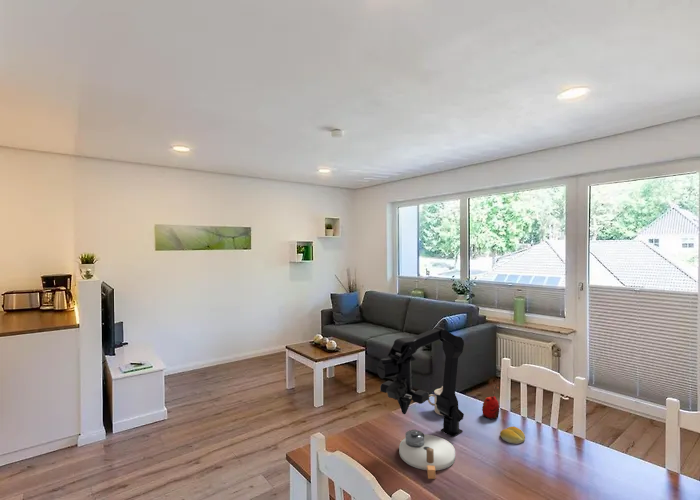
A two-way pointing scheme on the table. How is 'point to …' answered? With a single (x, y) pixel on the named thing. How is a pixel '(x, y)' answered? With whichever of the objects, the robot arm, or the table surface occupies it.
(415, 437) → the cover
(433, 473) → the pointer block
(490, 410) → the red clay folk toy
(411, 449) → the turntable
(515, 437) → the bread roll
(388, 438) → the table surface
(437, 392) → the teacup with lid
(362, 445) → the table surface
